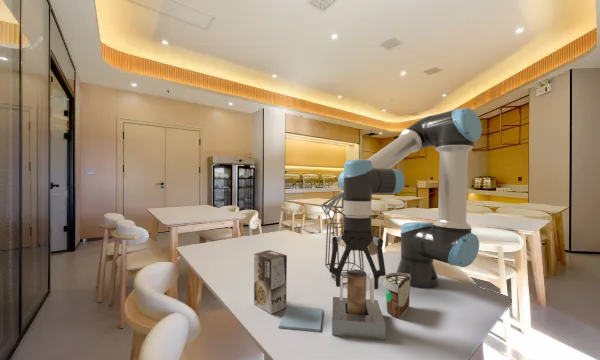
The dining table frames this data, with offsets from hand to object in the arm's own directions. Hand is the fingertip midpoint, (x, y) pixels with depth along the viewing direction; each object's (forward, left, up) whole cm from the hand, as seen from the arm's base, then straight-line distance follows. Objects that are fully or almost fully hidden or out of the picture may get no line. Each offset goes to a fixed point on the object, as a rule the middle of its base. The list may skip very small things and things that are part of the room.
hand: (356, 299), depth 70 cm
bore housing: (0, 0, -7) cm, 7 cm away
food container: (-12, -10, -7) cm, 17 cm away
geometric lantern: (+3, -33, -7) cm, 34 cm away
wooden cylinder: (0, 0, -7) cm, 7 cm away
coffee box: (+26, -6, -7) cm, 28 cm away
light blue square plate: (+15, 0, -7) cm, 16 cm away
